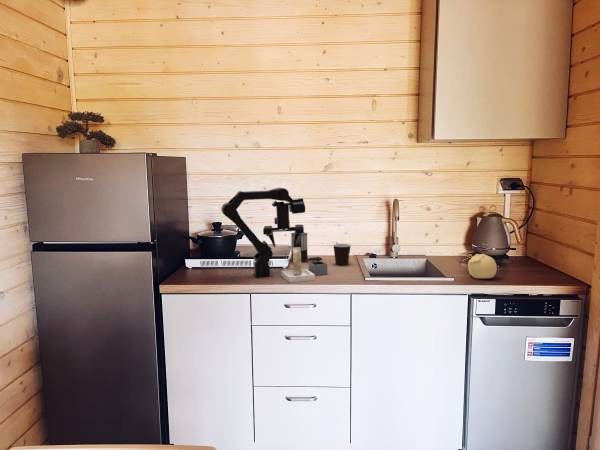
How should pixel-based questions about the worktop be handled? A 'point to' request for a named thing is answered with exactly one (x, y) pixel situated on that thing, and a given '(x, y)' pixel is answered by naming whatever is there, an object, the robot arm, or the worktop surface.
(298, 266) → the maple pin
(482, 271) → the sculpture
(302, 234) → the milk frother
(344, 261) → the black cup
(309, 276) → the tray
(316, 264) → the pin cup
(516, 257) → the worktop surface
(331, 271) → the worktop surface
